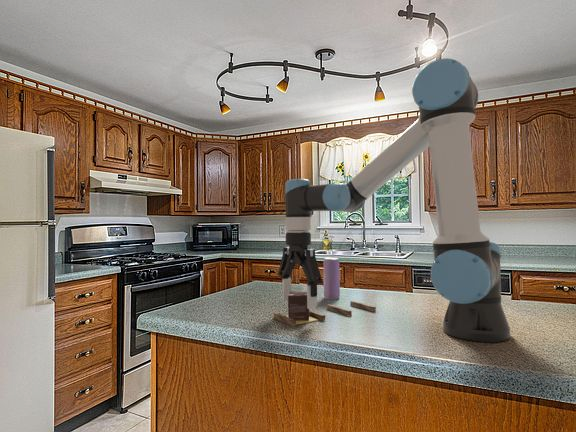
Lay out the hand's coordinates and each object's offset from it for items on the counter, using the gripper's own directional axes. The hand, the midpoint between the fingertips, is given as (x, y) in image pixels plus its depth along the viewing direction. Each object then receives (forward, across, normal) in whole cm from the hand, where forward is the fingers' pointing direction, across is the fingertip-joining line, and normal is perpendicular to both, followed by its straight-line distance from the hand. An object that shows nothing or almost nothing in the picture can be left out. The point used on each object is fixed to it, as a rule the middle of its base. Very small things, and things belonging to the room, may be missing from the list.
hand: (298, 303), depth 109 cm
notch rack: (+4, 0, -10) cm, 11 cm away
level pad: (+4, 0, 0) cm, 4 cm away
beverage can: (+5, +19, -27) cm, 33 cm away
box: (+4, 0, 0) cm, 4 cm away
